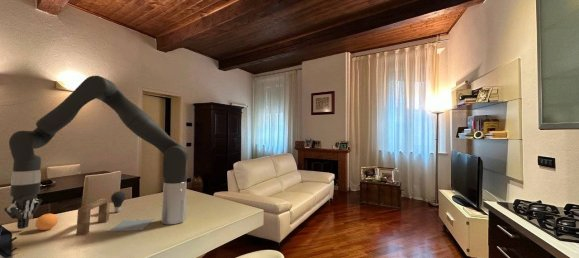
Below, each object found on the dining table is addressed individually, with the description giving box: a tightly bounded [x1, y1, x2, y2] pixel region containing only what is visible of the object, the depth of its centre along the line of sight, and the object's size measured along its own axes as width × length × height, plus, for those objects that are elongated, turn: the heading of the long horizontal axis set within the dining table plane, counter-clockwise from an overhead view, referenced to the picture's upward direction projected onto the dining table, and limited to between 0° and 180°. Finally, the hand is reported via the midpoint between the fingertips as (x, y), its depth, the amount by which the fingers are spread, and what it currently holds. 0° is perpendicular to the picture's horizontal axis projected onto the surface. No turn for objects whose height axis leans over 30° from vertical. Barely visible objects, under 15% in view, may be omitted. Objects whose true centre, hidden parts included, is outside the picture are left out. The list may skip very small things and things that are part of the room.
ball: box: [35, 213, 59, 231], centre depth 88 cm, size 6×6×6 cm
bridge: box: [75, 197, 111, 236], centre depth 92 cm, size 3×15×10 cm, turn 12°
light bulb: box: [110, 191, 126, 213], centre depth 111 cm, size 6×6×10 cm
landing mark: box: [107, 218, 155, 233], centre depth 94 cm, size 12×12×1 cm
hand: (22, 227), depth 87 cm, fingers closed
